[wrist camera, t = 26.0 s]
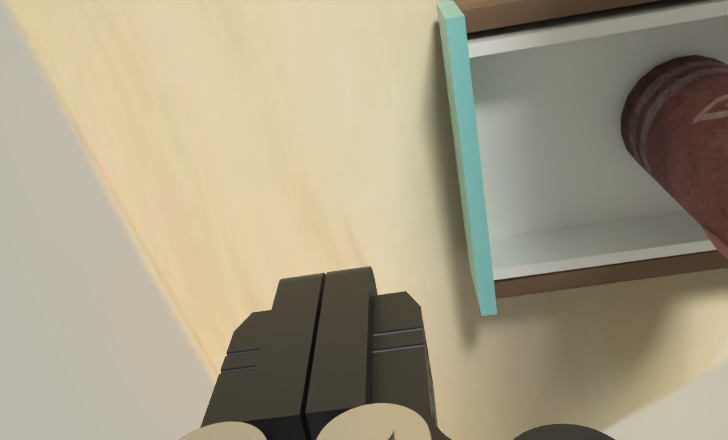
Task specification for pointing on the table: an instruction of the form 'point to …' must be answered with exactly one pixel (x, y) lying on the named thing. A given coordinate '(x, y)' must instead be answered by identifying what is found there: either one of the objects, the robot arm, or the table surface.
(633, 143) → the can
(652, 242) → the tray
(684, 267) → the tray stand
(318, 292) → the robot arm
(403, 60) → the table surface
